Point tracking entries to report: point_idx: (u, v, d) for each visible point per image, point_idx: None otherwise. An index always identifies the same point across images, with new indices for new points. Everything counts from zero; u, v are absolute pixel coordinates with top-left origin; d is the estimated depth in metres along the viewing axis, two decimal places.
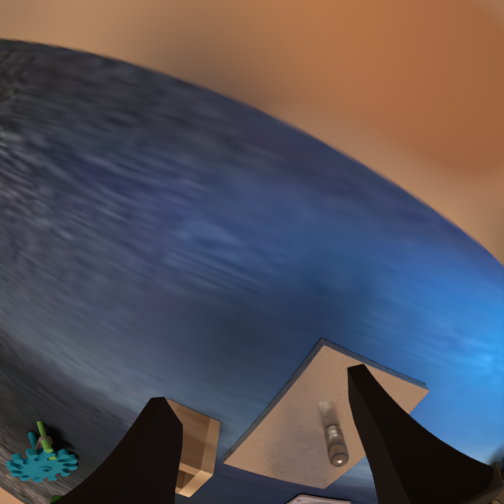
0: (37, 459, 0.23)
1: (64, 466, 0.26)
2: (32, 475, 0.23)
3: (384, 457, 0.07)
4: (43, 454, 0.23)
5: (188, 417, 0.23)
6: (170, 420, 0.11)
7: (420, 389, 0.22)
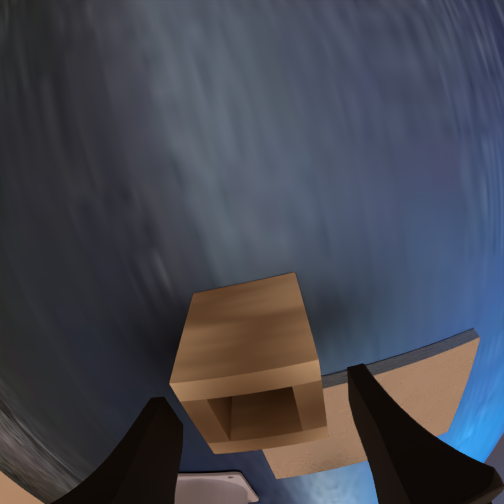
0: None
1: None
2: None
3: (384, 457, 0.07)
4: None
5: None
6: (170, 420, 0.11)
7: (448, 426, 0.20)
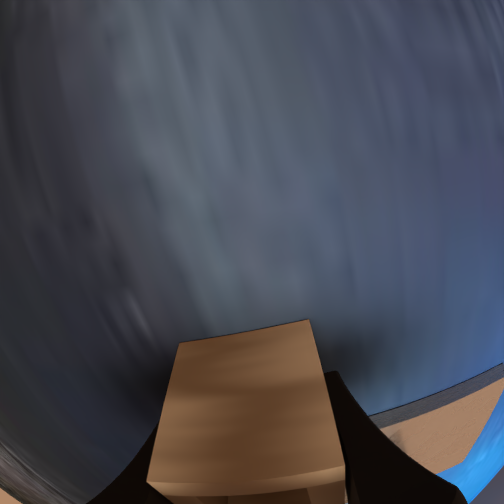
0: None
1: None
2: None
3: (348, 467, 0.07)
4: None
5: None
6: None
7: (464, 457, 0.17)
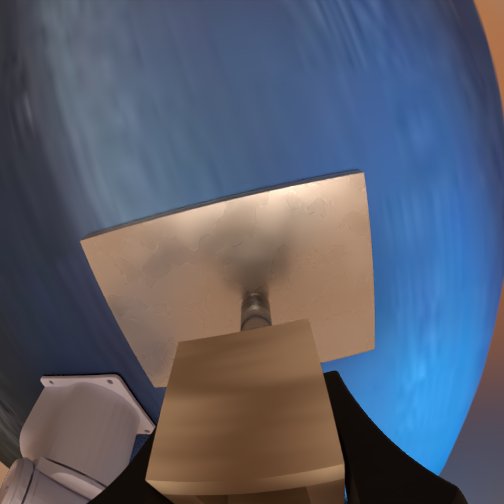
0: None
1: None
2: None
3: (348, 467, 0.07)
4: None
5: None
6: None
7: (371, 337, 0.19)
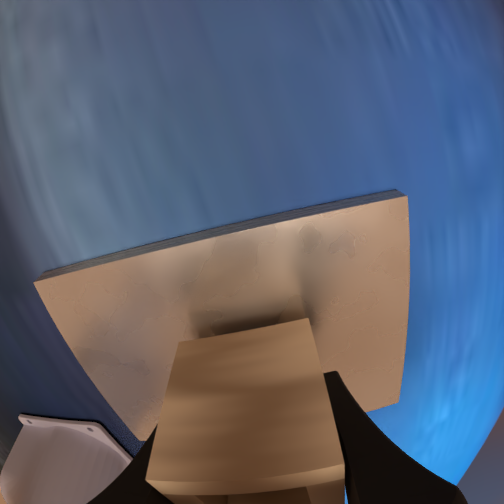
0: None
1: None
2: None
3: (348, 467, 0.07)
4: None
5: None
6: None
7: (397, 391, 0.15)
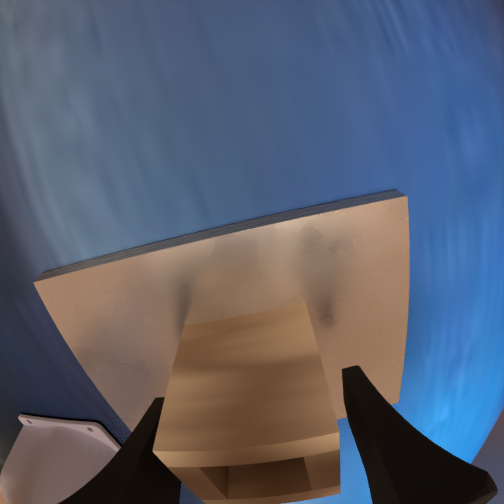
0: None
1: None
2: None
3: (377, 459, 0.07)
4: None
5: None
6: None
7: (396, 391, 0.15)
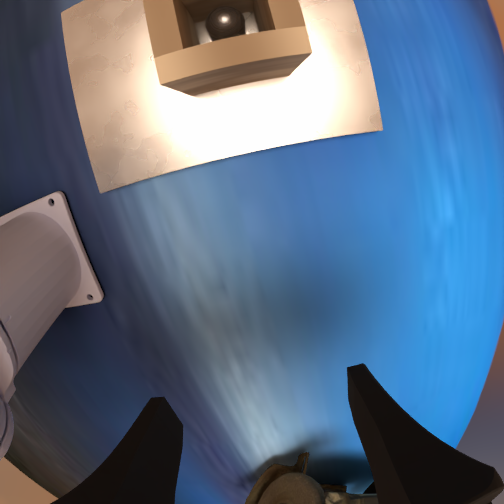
0: None
1: None
2: None
3: (384, 457, 0.07)
4: None
5: None
6: (170, 420, 0.11)
7: (376, 109, 0.14)
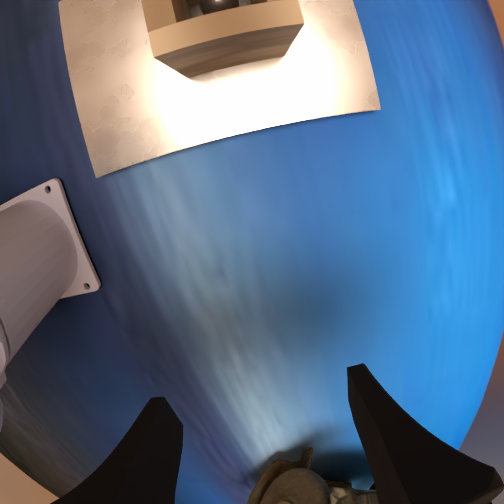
0: None
1: None
2: None
3: (384, 457, 0.07)
4: None
5: None
6: (170, 420, 0.11)
7: (373, 89, 0.14)
